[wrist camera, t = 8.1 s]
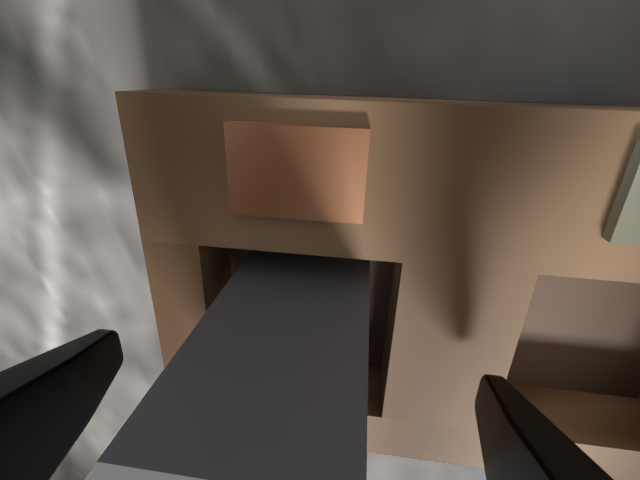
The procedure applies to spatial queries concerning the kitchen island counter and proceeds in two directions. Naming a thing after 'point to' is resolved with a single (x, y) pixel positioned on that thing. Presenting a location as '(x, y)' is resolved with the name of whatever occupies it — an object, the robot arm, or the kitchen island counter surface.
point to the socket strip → (417, 245)
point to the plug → (261, 382)
